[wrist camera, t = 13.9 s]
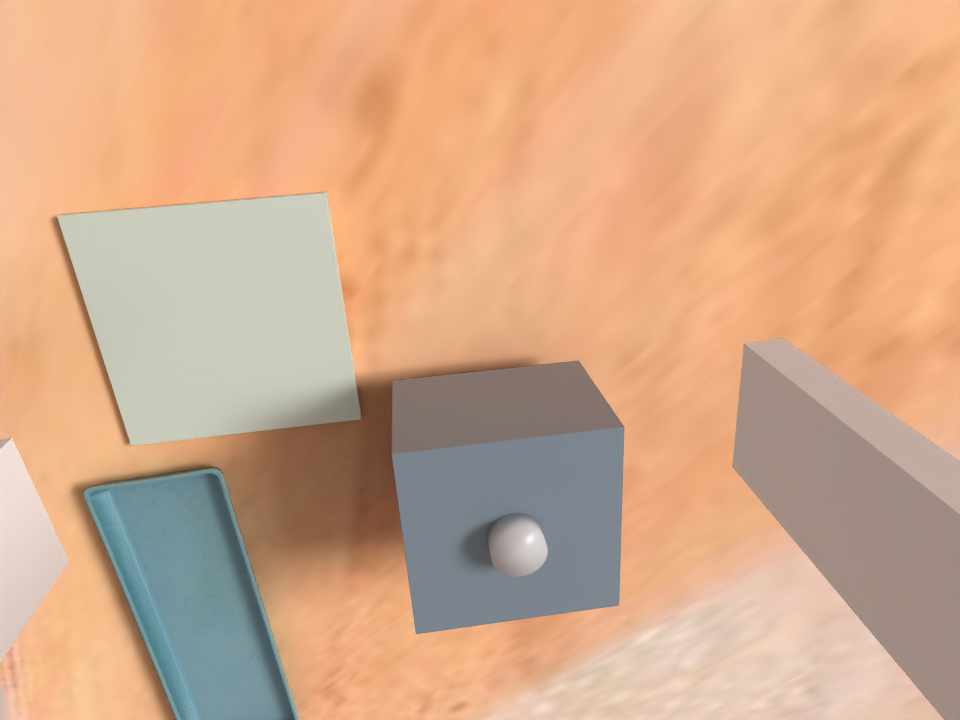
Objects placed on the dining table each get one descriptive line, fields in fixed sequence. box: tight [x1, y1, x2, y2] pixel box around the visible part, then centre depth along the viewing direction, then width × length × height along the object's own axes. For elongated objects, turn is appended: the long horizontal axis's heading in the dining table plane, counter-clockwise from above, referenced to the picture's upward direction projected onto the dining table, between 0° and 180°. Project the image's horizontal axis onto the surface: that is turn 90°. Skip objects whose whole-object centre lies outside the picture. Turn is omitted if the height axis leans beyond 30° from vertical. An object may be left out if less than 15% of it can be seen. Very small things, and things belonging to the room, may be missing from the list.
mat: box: [57, 192, 362, 446], centre depth 40 cm, size 15×15×1 cm
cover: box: [392, 361, 624, 634], centre depth 38 cm, size 12×12×10 cm
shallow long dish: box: [83, 467, 299, 720], centre depth 48 cm, size 26×9×2 cm, turn 6°
